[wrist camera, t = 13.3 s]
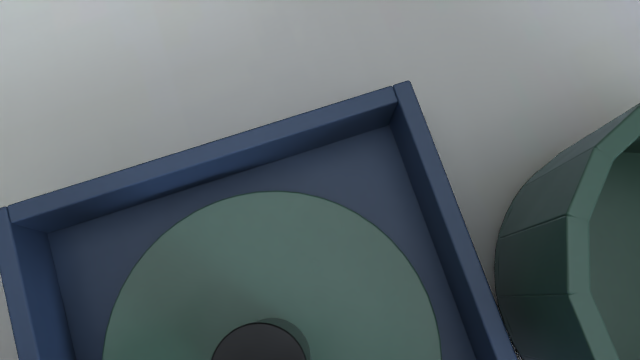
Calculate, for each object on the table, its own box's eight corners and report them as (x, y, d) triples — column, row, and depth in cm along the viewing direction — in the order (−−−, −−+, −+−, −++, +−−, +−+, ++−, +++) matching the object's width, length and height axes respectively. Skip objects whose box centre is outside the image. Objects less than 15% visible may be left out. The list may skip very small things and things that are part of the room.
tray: (129, 645, 18) (92, 714, 15) (34, 224, 20) (-14, 211, 17) (541, 492, 19) (583, 528, 16) (397, 110, 21) (410, 79, 18)
